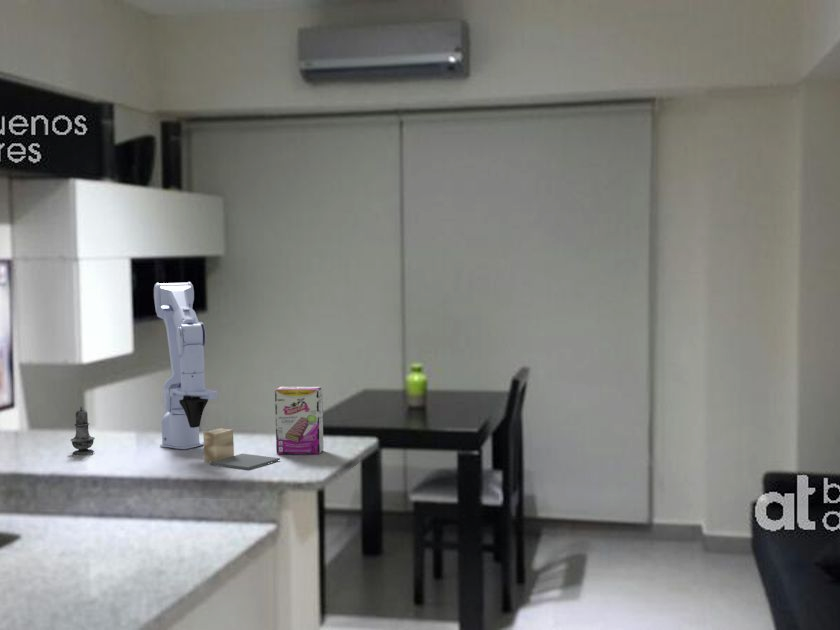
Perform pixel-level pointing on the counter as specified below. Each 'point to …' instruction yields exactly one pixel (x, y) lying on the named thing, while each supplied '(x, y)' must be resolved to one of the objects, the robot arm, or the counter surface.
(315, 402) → the candy bar box
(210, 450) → the maple block
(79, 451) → the salt shaker
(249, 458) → the grey plate
